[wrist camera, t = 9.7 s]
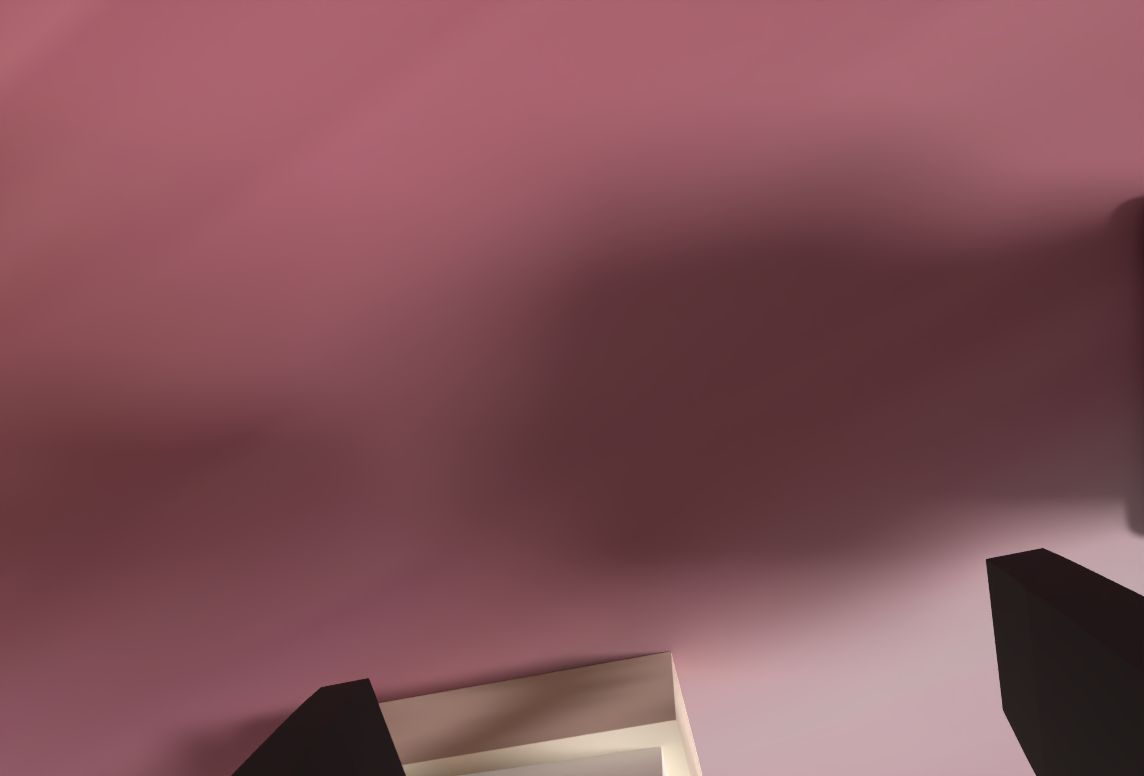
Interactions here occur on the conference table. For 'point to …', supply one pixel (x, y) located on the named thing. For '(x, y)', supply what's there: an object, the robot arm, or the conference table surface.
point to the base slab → (547, 720)
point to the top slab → (594, 766)
